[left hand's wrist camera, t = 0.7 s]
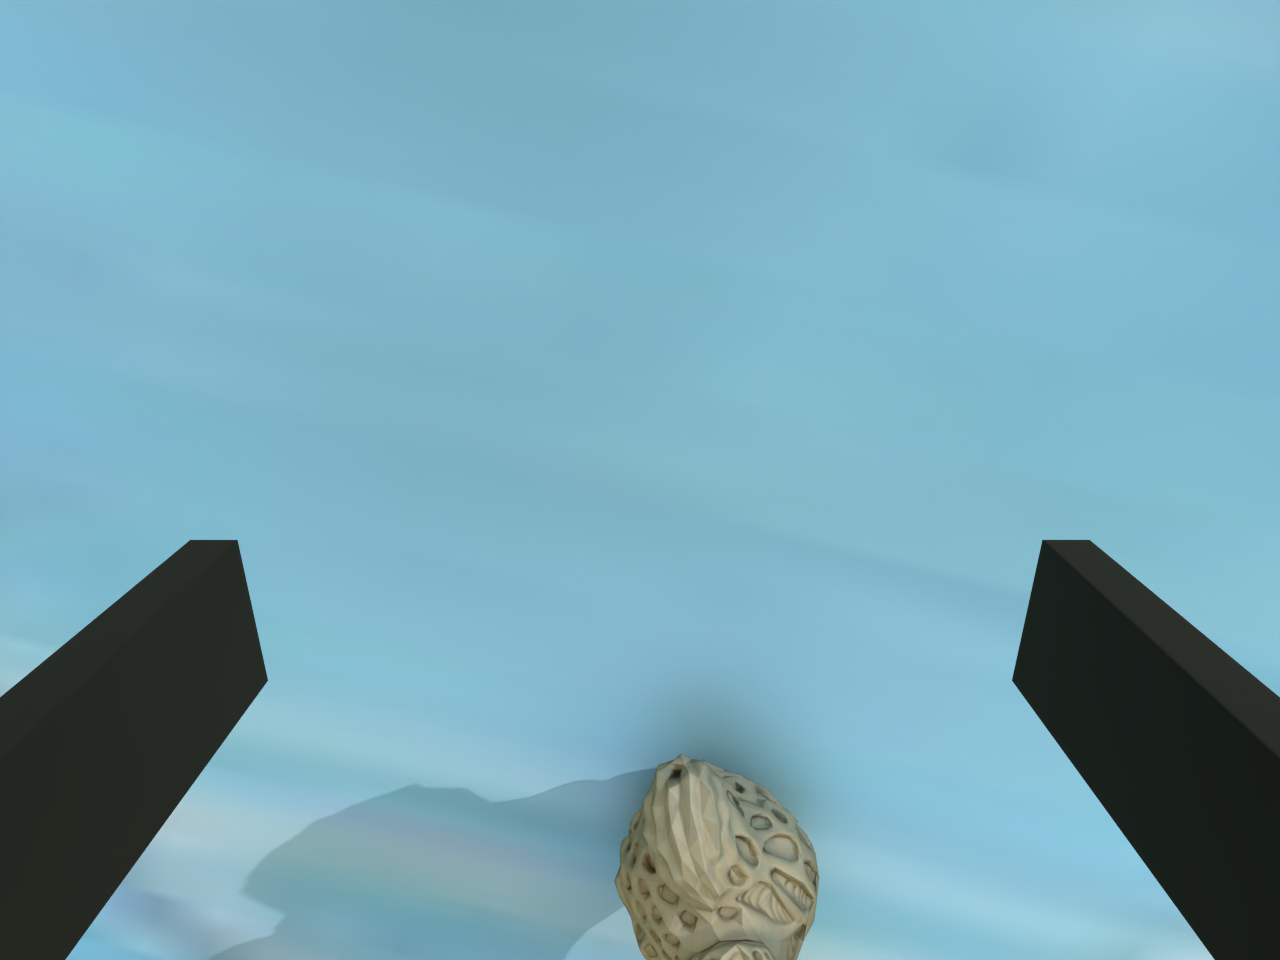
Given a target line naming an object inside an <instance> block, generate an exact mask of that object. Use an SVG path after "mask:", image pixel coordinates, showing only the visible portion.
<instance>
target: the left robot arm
mask: <svg viewBox="0 0 1280 960" xmlns="http://www.w3.org/2000/svg"><path fill="white" fill-rule="evenodd" d="M267 681H268V679H267V674H266V670H265V665H264V660H263V656H262V651H261V646H260V642H259V637H258V633H257V628H256V623H255V619H254V614H253V610H252V605H251V600H250V596H249V591H248V587H247V582H246V577H245V573H244V568H243V564H242V559H241V554H240V550H239V545H238V541H237V540H190V541H189V542H187V543H186V544H185V545H184V546H183V547H181V548H180V549H179V550H178V551H177V552H175V553H174V554H173V555H172V556H171V557H169V558H168V559H167V560H166V561H165V562H163V563H162V564H161V565H160V566H158V567H157V568H156V569H155V570H154V571H152V572H151V573H150V574H149V575H148V576H146V577H145V578H144V579H143V580H142V581H140V582H139V583H138V584H137V585H136V586H134V587H133V588H132V589H131V590H129V591H128V592H127V593H126V594H125V595H123V596H122V597H121V598H120V599H119V600H117V601H116V602H115V603H114V604H113V605H111V606H110V607H109V608H108V609H107V610H105V611H104V612H103V613H102V614H100V615H99V616H98V617H97V618H96V619H94V620H93V621H92V622H91V623H90V624H88V625H87V626H86V627H85V628H84V629H82V630H81V631H80V632H79V633H78V634H76V635H75V636H74V637H73V638H72V639H70V640H69V641H68V642H67V643H65V644H64V645H63V646H62V647H61V648H59V649H58V650H57V651H56V652H55V653H53V654H52V655H51V656H50V657H49V658H47V659H46V660H45V661H44V662H43V663H41V664H40V665H39V666H38V667H36V668H35V669H34V670H33V671H32V672H30V673H29V674H28V675H27V676H26V677H24V678H23V679H22V680H21V681H20V682H18V683H17V684H16V685H15V686H14V687H12V688H11V689H10V690H9V691H7V692H6V693H5V694H4V695H3V696H1V697H0V960H65V959H66V958H67V957H68V955H69V954H70V952H71V951H72V950H73V948H74V947H75V946H76V944H77V943H78V941H79V940H80V939H81V937H82V936H83V934H84V933H85V932H86V930H87V929H88V928H89V926H90V925H91V923H92V922H93V921H94V919H95V918H96V917H97V915H98V914H99V912H100V911H101V910H102V908H103V907H104V906H105V904H106V903H107V901H108V900H109V899H110V897H111V896H112V895H113V893H114V892H115V890H116V889H117V888H118V886H119V885H120V884H121V882H122V881H123V879H124V878H125V877H126V875H127V874H128V872H129V871H130V870H131V868H132V867H133V866H134V864H135V863H136V861H137V860H138V859H139V857H140V856H141V855H142V853H143V852H144V850H145V849H146V848H147V846H148V845H149V844H150V842H151V841H152V839H153V838H154V837H155V835H156V834H157V833H158V831H159V830H160V828H161V827H162V826H163V824H164V823H165V822H166V820H167V819H168V817H169V816H170V815H171V813H172V812H173V810H174V809H175V808H176V806H177V805H178V804H179V802H180V801H181V799H182V798H183V797H184V795H185V794H186V793H187V791H188V790H189V788H190V787H191V786H192V784H193V783H194V782H195V780H196V779H197V777H198V776H199V775H200V773H201V772H202V771H203V769H204V768H205V766H206V765H207V764H208V762H209V761H210V760H211V758H212V757H213V755H214V754H215V753H216V751H217V750H218V748H219V747H220V746H221V744H222V743H223V742H224V740H225V739H226V737H227V736H228V735H229V733H230V732H231V731H232V729H233V728H234V726H235V725H236V724H237V722H238V721H239V720H240V718H241V717H242V715H243V714H244V713H245V711H246V710H247V709H248V707H249V706H250V704H251V703H252V702H253V700H254V699H255V698H256V696H257V695H258V693H259V692H260V691H261V689H262V688H263V687H264V685H265V684H266V682H267ZM1012 681H1013V682H1014V684H1015V685H1016V687H1017V688H1018V689H1019V691H1020V692H1021V693H1022V695H1023V696H1024V698H1025V699H1026V700H1027V702H1028V703H1029V704H1030V706H1031V707H1032V709H1033V710H1034V711H1035V713H1036V714H1037V715H1038V717H1039V718H1040V720H1041V721H1042V722H1043V724H1044V725H1045V726H1046V728H1047V729H1048V731H1049V732H1050V733H1051V735H1052V736H1053V737H1054V739H1055V740H1056V742H1057V743H1058V744H1059V746H1060V747H1061V748H1062V750H1063V751H1064V753H1065V754H1066V755H1067V757H1068V758H1069V760H1070V761H1071V762H1072V764H1073V765H1074V766H1075V768H1076V769H1077V771H1078V772H1079V773H1080V775H1081V776H1082V777H1083V779H1084V780H1085V782H1086V783H1087V784H1088V786H1089V787H1090V788H1091V790H1092V791H1093V793H1094V794H1095V795H1096V797H1097V798H1098V799H1099V801H1100V802H1101V804H1102V805H1103V806H1104V808H1105V809H1106V810H1107V812H1108V813H1109V815H1110V816H1111V817H1112V819H1113V820H1114V822H1115V823H1116V824H1117V826H1118V827H1119V828H1120V830H1121V831H1122V833H1123V834H1124V835H1125V837H1126V838H1127V839H1128V841H1129V842H1130V844H1131V845H1132V846H1133V848H1134V849H1135V850H1136V852H1137V853H1138V855H1139V856H1140V857H1141V859H1142V860H1143V861H1144V863H1145V864H1146V866H1147V867H1148V868H1149V870H1150V871H1151V872H1152V874H1153V875H1154V877H1155V878H1156V879H1157V881H1158V882H1159V884H1160V885H1161V886H1162V888H1163V889H1164V890H1165V892H1166V893H1167V895H1168V896H1169V897H1170V899H1171V900H1172V901H1173V903H1174V904H1175V906H1176V907H1177V908H1178V910H1179V911H1180V912H1181V914H1182V915H1183V917H1184V918H1185V919H1186V921H1187V922H1188V923H1189V925H1190V926H1191V928H1192V929H1193V930H1194V932H1195V933H1196V934H1197V936H1198V937H1199V939H1200V940H1201V941H1202V943H1203V944H1204V946H1205V947H1206V948H1207V950H1208V951H1209V952H1210V954H1211V955H1212V957H1213V958H1214V959H1215V960H1280V697H1279V696H1277V695H1276V694H1275V693H1274V692H1272V691H1271V690H1270V689H1269V688H1268V687H1266V686H1265V685H1264V684H1263V683H1262V682H1260V681H1259V680H1258V679H1257V678H1256V677H1254V676H1253V675H1252V674H1251V673H1250V672H1248V671H1247V670H1246V669H1245V668H1244V667H1242V666H1241V665H1240V664H1239V663H1237V662H1236V661H1235V660H1234V659H1233V658H1231V657H1230V656H1229V655H1228V654H1227V653H1225V652H1224V651H1223V650H1222V649H1221V648H1219V647H1218V646H1217V645H1216V644H1215V643H1213V642H1212V641H1211V640H1210V639H1208V638H1207V637H1206V636H1205V635H1204V634H1202V633H1201V632H1200V631H1199V630H1198V629H1196V628H1195V627H1194V626H1193V625H1192V624H1190V623H1189V622H1188V621H1187V620H1186V619H1184V618H1183V617H1182V616H1181V615H1180V614H1178V613H1177V612H1176V611H1175V610H1173V609H1172V608H1171V607H1170V606H1169V605H1167V604H1166V603H1165V602H1164V601H1163V600H1161V599H1160V598H1159V597H1158V596H1157V595H1155V594H1154V593H1153V592H1152V591H1151V590H1149V589H1148V588H1147V587H1146V586H1144V585H1143V584H1142V583H1141V582H1140V581H1138V580H1137V579H1136V578H1135V577H1134V576H1132V575H1131V574H1130V573H1129V572H1128V571H1126V570H1125V569H1124V568H1123V567H1122V566H1120V565H1119V564H1118V563H1117V562H1115V561H1114V560H1113V559H1112V558H1111V557H1109V556H1108V555H1107V554H1106V553H1105V552H1103V551H1102V550H1101V549H1100V548H1099V547H1097V546H1096V545H1095V544H1094V543H1093V542H1091V541H1090V540H1042V545H1041V550H1040V554H1039V559H1038V564H1037V568H1036V573H1035V577H1034V582H1033V587H1032V591H1031V596H1030V600H1029V605H1028V610H1027V614H1026V619H1025V623H1024V628H1023V633H1022V637H1021V642H1020V646H1019V651H1018V656H1017V660H1016V665H1015V670H1014V674H1013V679H1012Z"/></svg>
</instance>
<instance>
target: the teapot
mask: <svg viewBox="0 0 1280 960" xmlns="http://www.w3.org/2000/svg"><path fill="white" fill-rule="evenodd" d="M643 804H644V806H643V807H642V808H641V809H640V810H639V811H637V812H636V813H635V815H634V817H633V819H632V821H631V823H630V829H629V835H627V836H626V837H625V838H624V839H623V841H622V842H621V849H620V868H619V870H618V873H617V876H616V878H615V884H616V887H617V891H618V894H619V897H620V898H621V900H622V902H623V903H624V905H625V907H626V908H627V910H628V912H629V914H630V916H631V920H632V924H633V929H634V932H635V936H636V939H637V942H638V946H639V949H640V951H641V953H642V954H643V956H644V958H645V959H647V960H797V958H798V955H799V952H800V949H801V946H802V944H803V941H804V939H805V937H806V935H807V933H808V931H809V929H810V927H811V925H812V924H813V922H814V917H815V910H816V902H817V893H818V883H819V875H818V868H817V861H816V854H815V851H814V849H813V846H812V844H811V842H810V840H809V838H808V836H807V835H806V833H805V832H804V831H803V830H802V829H801V828H800V827H799V826H798V825H797V823H798V820H797V819H796V818H795V817H794V816H793V815H792V814H791V813H790V812H789V811H788V810H787V809H785V808H784V807H783V806H782V805H781V804H780V803H779V802H778V801H777V800H776V798H775V797H774V796H773V795H772V794H771V792H770V791H769V790H767V789H765V788H763V787H761V786H760V785H758V784H756V783H754V782H753V781H751V780H748V779H745V778H744V777H743V776H741V775H739V774H736V773H733V772H729V771H726V770H723V769H721V768H719V767H717V766H715V765H713V764H710V763H708V762H707V763H706V762H705V761H701V760H694V759H690V758H688V757H686V756H684V755H682V754H680V755H679V756H678V757H677V758H676V759H675V760H672V761H669V762H666V763H663V764H661V765H658V768H657V771H656V775H655V778H654V780H653V782H652V787H651V788H650V790H649V792H648V794H647V795H646V797H645V799H644V800H643Z"/></svg>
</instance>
